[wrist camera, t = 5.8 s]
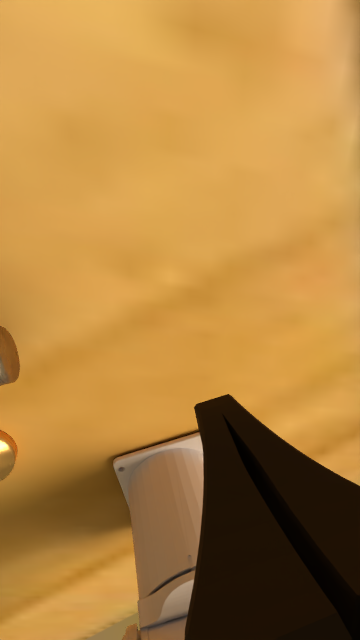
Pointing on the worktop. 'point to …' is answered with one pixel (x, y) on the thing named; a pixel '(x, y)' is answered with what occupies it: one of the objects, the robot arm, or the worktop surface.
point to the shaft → (8, 358)
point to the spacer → (7, 454)
